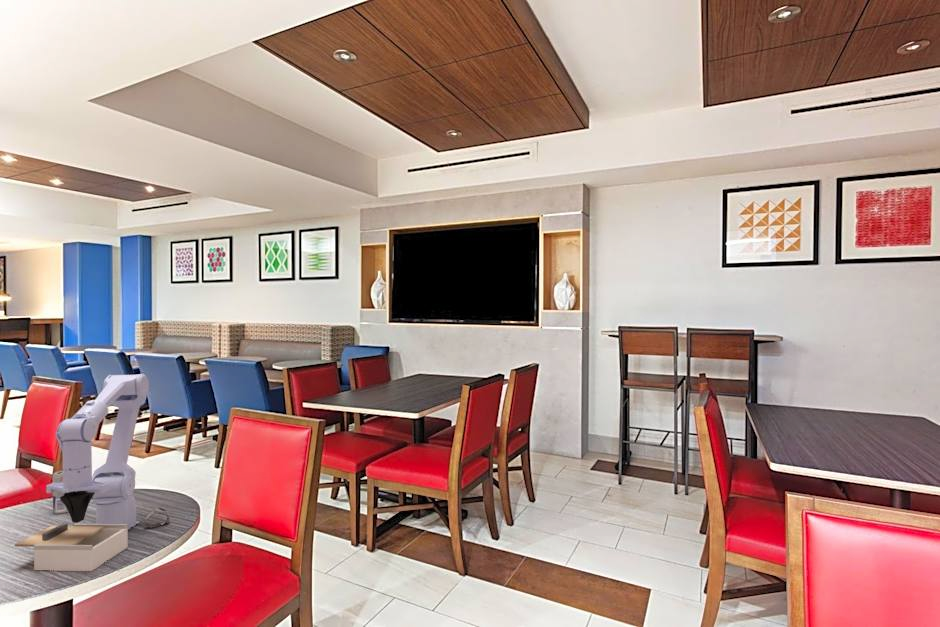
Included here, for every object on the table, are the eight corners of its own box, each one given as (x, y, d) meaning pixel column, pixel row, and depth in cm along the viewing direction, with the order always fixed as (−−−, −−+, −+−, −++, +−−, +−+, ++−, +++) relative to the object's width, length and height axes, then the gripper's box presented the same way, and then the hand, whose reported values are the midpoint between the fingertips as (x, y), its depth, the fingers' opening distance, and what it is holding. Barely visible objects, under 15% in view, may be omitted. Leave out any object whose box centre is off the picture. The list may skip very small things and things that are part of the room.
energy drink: (64, 506, 158) (64, 468, 158) (79, 507, 158) (79, 469, 158) (48, 513, 153) (47, 474, 153) (63, 514, 152) (63, 475, 152)
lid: (51, 527, 131) (51, 519, 131) (104, 528, 130) (103, 520, 130) (14, 546, 121) (14, 537, 121) (71, 546, 120) (71, 538, 120)
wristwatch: (170, 524, 145) (170, 507, 145) (145, 531, 141) (145, 513, 141) (167, 520, 148) (167, 503, 148) (142, 527, 143) (142, 509, 143)
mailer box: (75, 546, 132) (75, 523, 132) (127, 547, 131) (127, 524, 131) (34, 570, 120) (33, 545, 120) (91, 571, 119) (91, 546, 119)
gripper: (34, 471, 121) (35, 527, 122) (93, 472, 121) (94, 528, 121) (59, 462, 128) (60, 515, 129) (114, 463, 128) (115, 516, 128)
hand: (78, 521), depth 125 cm, fingers closed
